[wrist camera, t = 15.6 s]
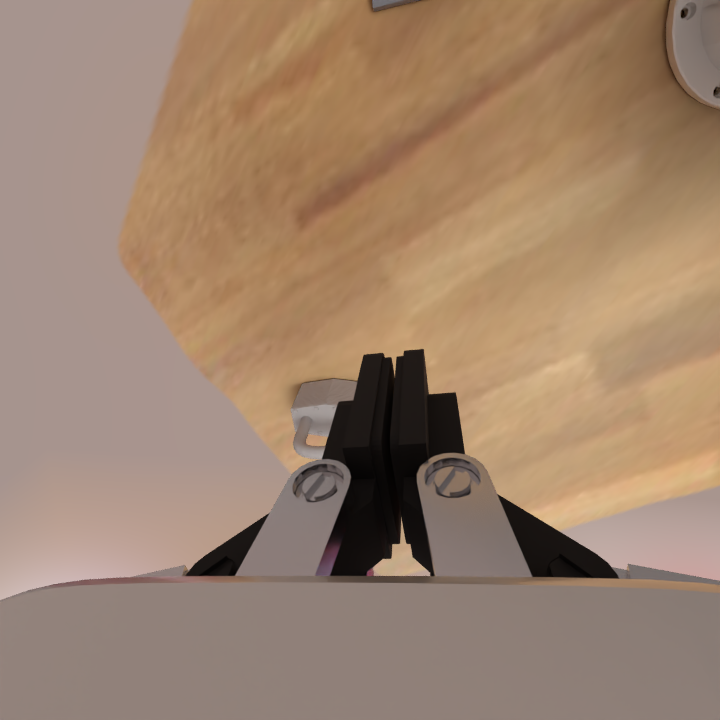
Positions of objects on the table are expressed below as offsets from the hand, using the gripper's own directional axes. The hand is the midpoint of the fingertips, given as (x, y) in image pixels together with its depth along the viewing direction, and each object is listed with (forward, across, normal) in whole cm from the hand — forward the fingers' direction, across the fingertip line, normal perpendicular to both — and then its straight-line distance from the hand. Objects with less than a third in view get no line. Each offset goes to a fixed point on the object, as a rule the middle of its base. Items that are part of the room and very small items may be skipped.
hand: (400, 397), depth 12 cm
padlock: (+27, +10, +17) cm, 34 cm away
